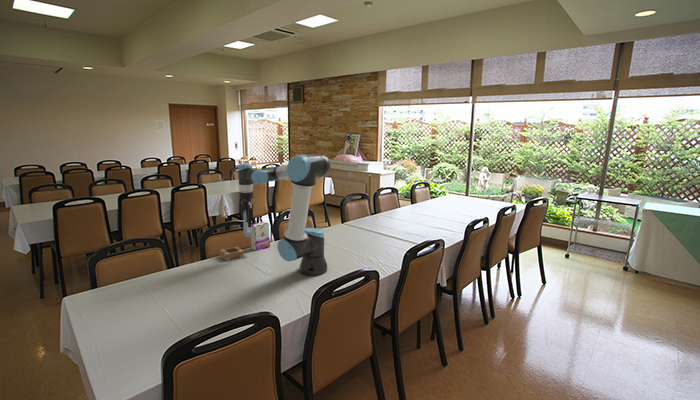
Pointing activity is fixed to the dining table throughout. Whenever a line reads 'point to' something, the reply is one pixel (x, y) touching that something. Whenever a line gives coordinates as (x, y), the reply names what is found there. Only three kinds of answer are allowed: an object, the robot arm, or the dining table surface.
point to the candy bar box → (260, 236)
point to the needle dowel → (246, 226)
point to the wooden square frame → (232, 253)
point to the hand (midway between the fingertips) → (247, 231)
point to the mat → (237, 259)
